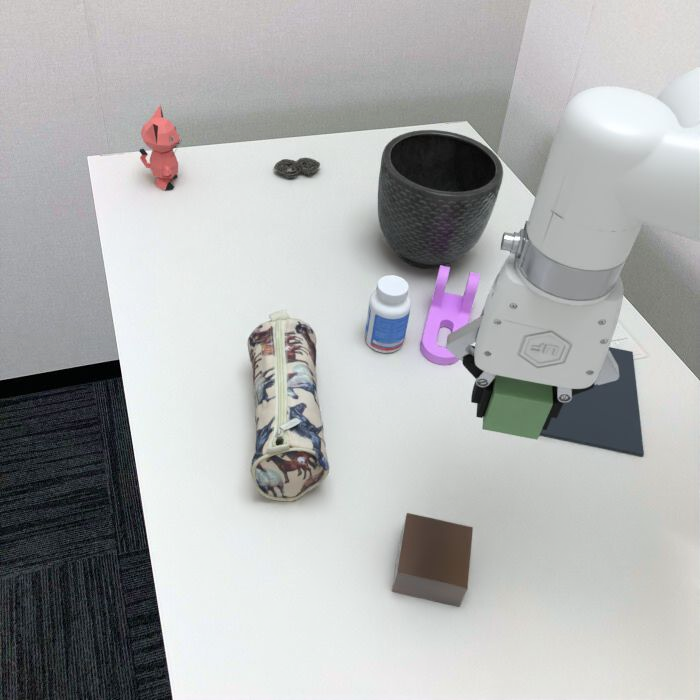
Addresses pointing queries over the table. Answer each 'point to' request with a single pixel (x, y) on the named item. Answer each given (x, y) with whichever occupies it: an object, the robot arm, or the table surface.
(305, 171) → the corroded twin loop
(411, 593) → the walnut base block
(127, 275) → the table surface
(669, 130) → the robot arm
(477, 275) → the bracket
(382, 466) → the table surface
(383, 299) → the pill bottle
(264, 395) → the pencil case
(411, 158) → the planter
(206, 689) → the table surface
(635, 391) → the mat
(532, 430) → the green cube
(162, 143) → the cat figurine
